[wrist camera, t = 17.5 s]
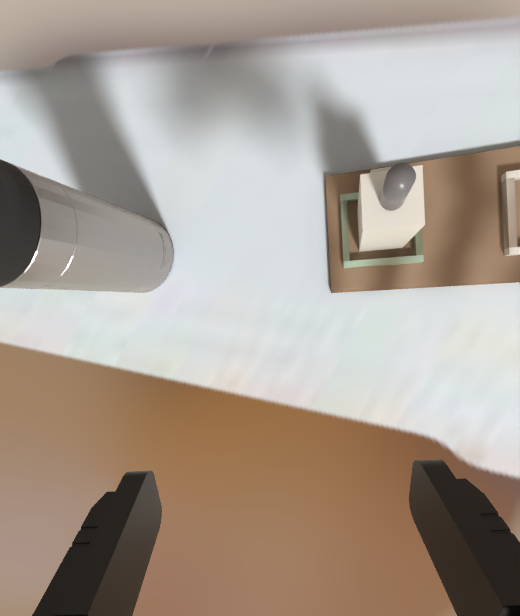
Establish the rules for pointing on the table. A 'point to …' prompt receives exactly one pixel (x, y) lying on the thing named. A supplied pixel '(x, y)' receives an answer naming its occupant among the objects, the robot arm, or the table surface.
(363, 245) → the cream block with handle
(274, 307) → the table surface
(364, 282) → the walnut port board
